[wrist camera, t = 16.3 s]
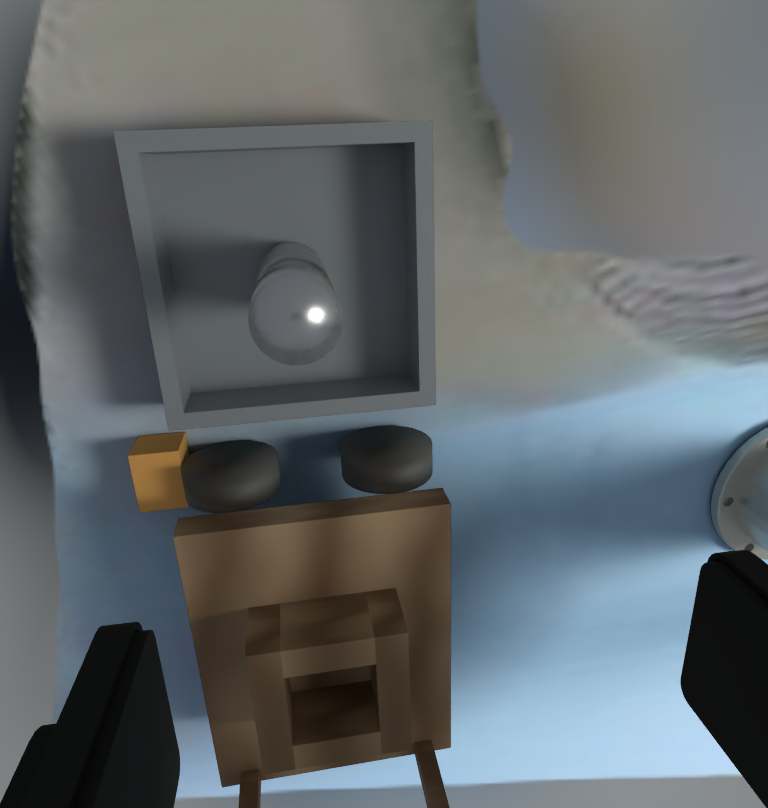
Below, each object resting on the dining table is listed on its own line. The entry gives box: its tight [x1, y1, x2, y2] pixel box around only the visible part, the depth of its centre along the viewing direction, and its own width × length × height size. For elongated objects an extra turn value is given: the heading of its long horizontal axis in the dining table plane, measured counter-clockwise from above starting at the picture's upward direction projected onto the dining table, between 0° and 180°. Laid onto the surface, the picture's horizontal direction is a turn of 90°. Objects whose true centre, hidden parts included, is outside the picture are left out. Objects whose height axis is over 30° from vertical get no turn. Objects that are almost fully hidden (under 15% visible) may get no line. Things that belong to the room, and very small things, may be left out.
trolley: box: [173, 426, 451, 808], centre depth 37 cm, size 16×24×19 cm, turn 2°
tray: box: [113, 121, 436, 431], centre depth 36 cm, size 16×16×4 cm
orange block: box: [128, 432, 189, 513], centre depth 39 cm, size 3×4×3 cm
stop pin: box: [248, 241, 343, 366], centre depth 31 cm, size 4×4×12 cm
